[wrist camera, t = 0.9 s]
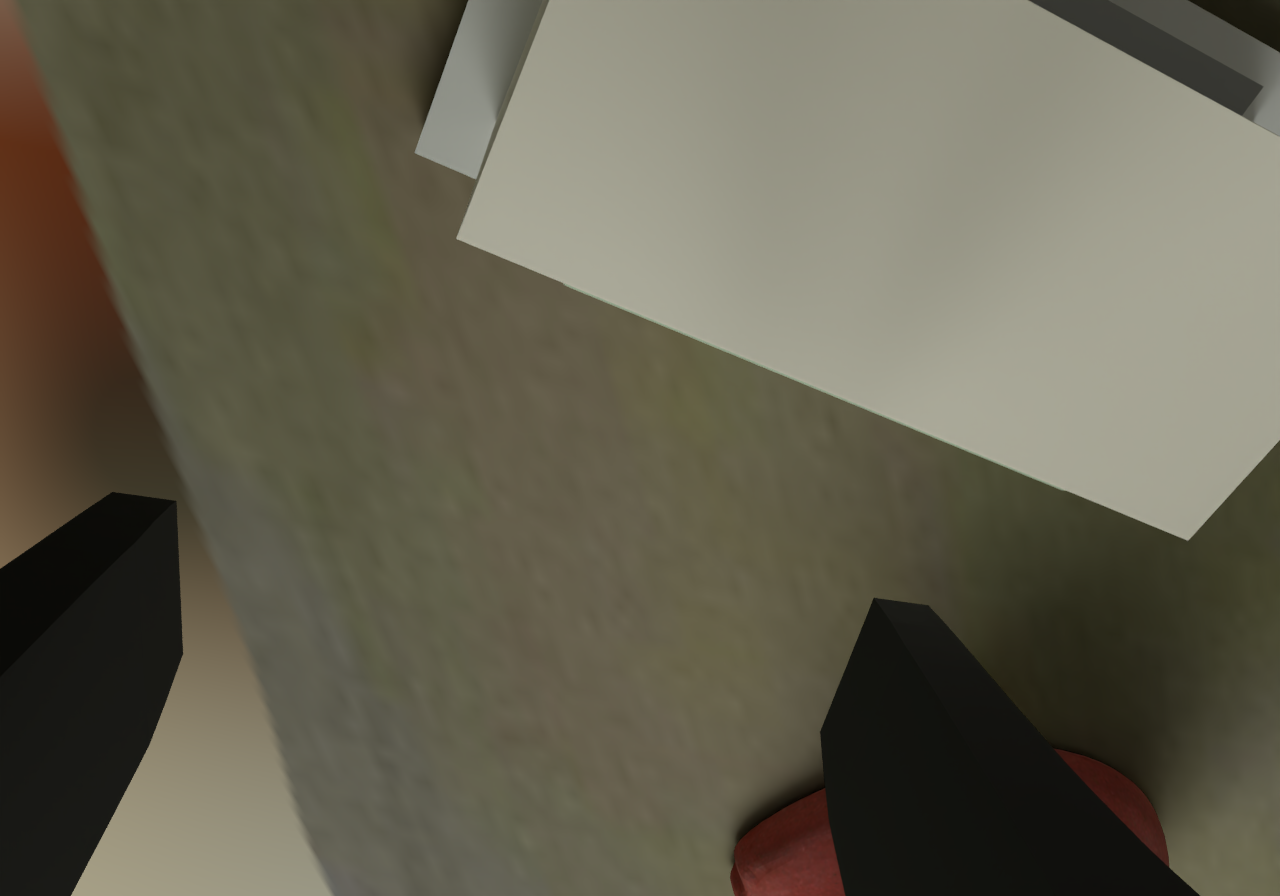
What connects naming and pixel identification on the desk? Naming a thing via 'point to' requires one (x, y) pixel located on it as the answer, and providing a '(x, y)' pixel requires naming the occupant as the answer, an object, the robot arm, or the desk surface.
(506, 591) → the desk surface
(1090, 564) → the desk surface
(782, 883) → the stacking bear
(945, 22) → the mounted unit
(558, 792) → the desk surface
